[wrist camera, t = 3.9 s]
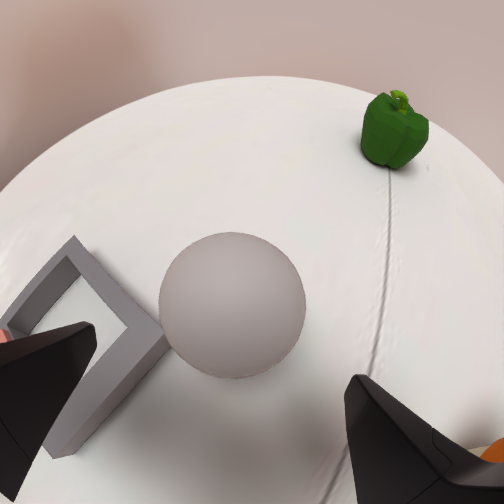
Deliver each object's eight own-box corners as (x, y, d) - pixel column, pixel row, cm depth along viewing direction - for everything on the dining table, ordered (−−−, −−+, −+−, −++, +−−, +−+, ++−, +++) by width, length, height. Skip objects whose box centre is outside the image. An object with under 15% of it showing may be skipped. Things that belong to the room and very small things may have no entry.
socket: (175, 341, 18) (162, 328, 14) (74, 454, 12) (46, 460, 9) (88, 253, 20) (70, 229, 17) (5, 351, 15) (-22, 340, 11)
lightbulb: (260, 292, 20) (289, 190, 11) (285, 371, 17) (353, 337, 8) (179, 310, 19) (134, 218, 9) (198, 393, 16) (156, 390, 7)
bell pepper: (397, 145, 33) (424, 91, 24) (414, 184, 29) (451, 124, 20) (346, 130, 33) (368, 68, 24) (356, 168, 29) (388, 97, 20)
